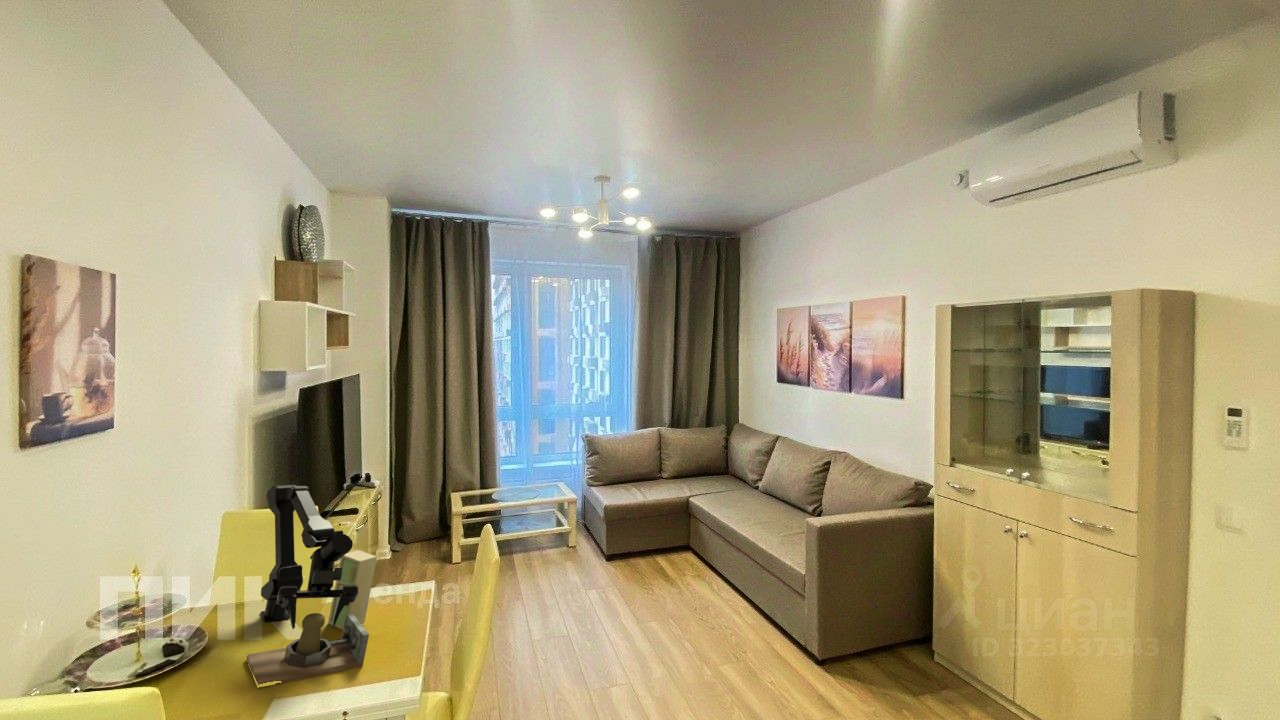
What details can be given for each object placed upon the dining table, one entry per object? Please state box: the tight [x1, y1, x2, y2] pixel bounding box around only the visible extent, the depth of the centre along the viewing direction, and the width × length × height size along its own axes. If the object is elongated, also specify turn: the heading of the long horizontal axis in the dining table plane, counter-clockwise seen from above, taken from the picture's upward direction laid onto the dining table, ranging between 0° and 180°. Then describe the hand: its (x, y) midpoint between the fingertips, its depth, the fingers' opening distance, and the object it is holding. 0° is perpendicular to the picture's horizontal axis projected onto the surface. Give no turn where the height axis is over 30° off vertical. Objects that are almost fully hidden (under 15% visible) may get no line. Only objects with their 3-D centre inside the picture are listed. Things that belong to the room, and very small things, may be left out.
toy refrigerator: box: [327, 549, 378, 631], centre depth 170 cm, size 8×7×21 cm
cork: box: [295, 612, 326, 655], centre depth 146 cm, size 6×6×11 cm
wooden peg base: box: [245, 613, 370, 685], centre depth 146 cm, size 14×24×8 cm, turn 134°
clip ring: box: [284, 626, 358, 668], centre depth 148 cm, size 10×16×5 cm, turn 134°
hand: (313, 627), depth 145 cm, fingers open, 9 cm apart
